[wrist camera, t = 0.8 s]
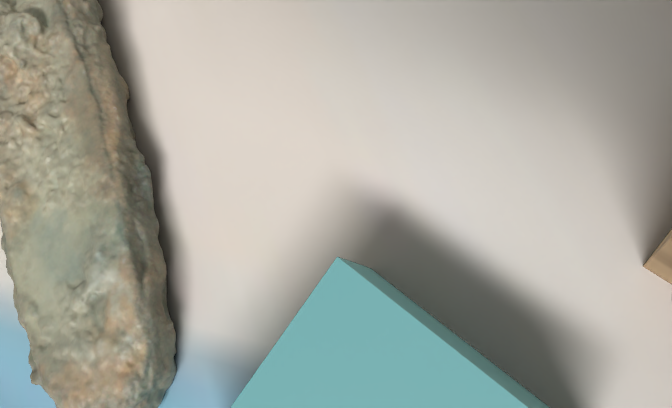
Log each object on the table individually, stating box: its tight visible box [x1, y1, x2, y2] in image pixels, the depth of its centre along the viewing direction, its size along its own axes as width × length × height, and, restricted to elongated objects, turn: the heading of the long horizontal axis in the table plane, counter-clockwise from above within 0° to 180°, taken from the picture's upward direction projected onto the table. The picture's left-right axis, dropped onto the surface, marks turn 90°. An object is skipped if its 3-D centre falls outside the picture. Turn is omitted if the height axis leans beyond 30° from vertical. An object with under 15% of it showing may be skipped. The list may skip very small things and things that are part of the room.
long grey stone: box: [0, 0, 177, 408], centre depth 31 cm, size 35×5×10 cm
